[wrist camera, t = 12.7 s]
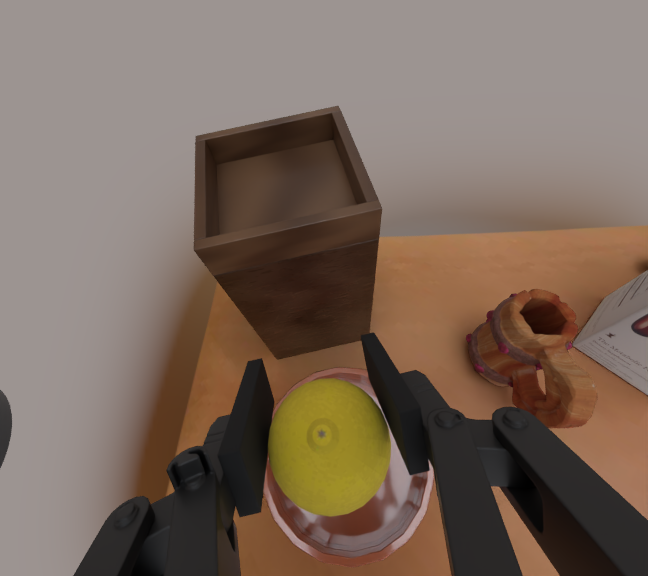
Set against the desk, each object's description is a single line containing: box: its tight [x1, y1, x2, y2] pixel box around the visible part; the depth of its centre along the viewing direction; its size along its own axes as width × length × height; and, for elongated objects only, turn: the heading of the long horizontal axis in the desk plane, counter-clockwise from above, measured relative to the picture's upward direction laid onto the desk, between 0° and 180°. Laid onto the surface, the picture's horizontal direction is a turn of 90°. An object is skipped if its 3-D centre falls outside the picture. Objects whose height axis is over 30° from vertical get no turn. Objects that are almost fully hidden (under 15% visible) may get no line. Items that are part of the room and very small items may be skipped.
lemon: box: [268, 378, 391, 517], centre depth 14 cm, size 6×6×8 cm
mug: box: [466, 289, 597, 428], centre depth 30 cm, size 12×7×13 cm, turn 2°
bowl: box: [263, 367, 434, 567], centre depth 31 cm, size 16×16×4 cm
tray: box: [194, 106, 382, 275], centre depth 23 cm, size 12×12×3 cm
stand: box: [214, 239, 379, 359], centre depth 33 cm, size 12×12×20 cm
